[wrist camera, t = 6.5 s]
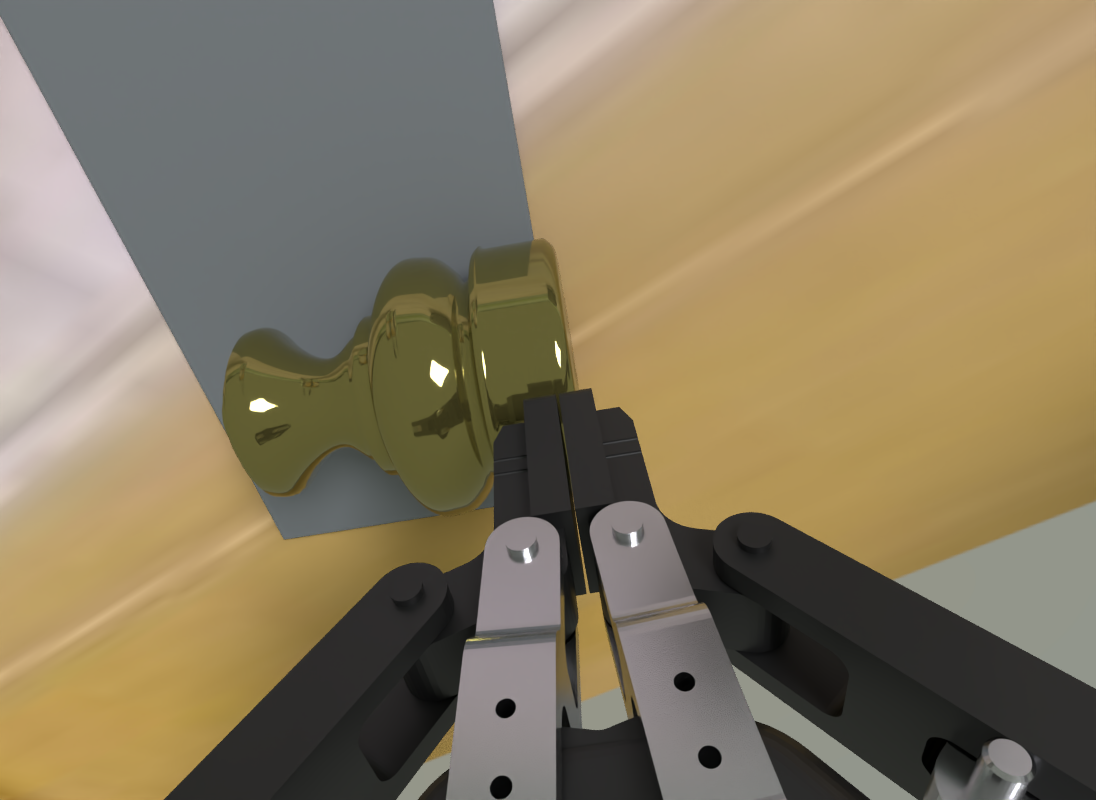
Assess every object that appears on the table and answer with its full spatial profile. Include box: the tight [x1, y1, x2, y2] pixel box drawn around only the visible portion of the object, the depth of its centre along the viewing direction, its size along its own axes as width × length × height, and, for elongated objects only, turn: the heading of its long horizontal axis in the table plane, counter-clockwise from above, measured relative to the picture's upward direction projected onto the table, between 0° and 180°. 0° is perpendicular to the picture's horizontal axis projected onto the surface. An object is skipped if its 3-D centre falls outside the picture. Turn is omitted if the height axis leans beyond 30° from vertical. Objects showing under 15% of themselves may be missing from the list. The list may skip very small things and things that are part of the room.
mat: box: [0, 0, 534, 539], centre depth 22 cm, size 12×20×1 cm, turn 9°
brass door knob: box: [222, 238, 579, 516], centre depth 20 cm, size 7×7×10 cm
